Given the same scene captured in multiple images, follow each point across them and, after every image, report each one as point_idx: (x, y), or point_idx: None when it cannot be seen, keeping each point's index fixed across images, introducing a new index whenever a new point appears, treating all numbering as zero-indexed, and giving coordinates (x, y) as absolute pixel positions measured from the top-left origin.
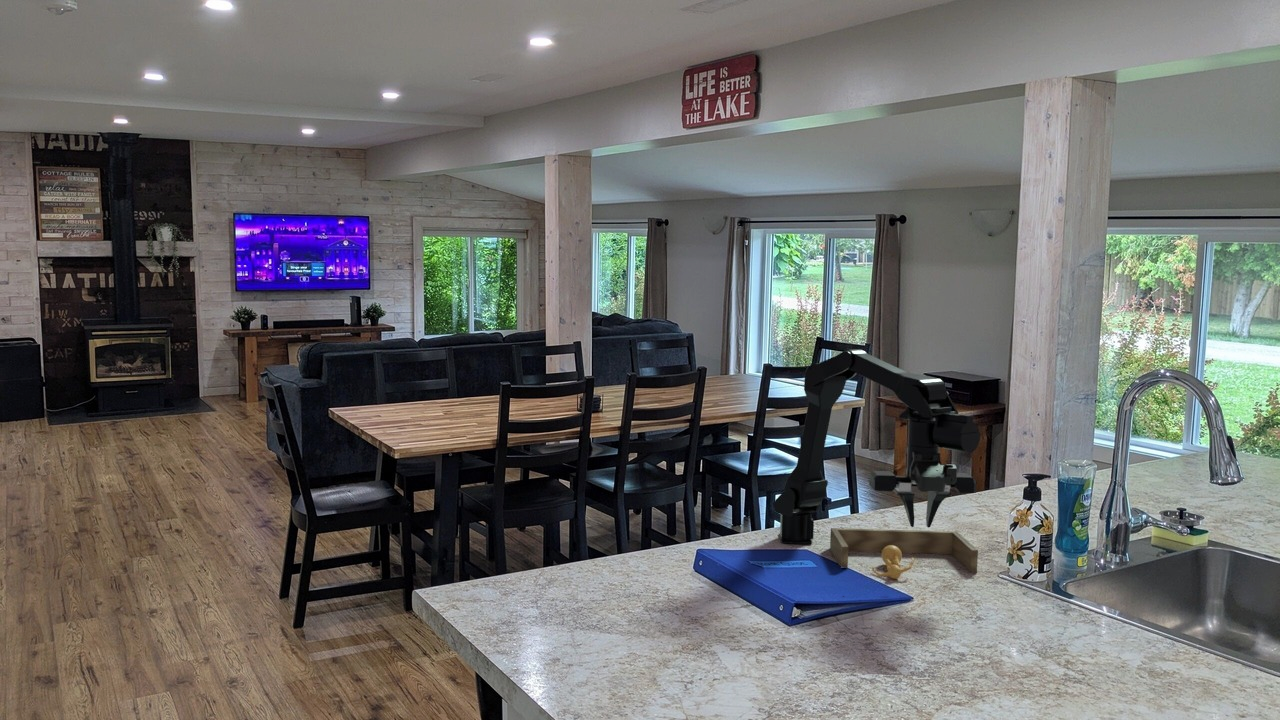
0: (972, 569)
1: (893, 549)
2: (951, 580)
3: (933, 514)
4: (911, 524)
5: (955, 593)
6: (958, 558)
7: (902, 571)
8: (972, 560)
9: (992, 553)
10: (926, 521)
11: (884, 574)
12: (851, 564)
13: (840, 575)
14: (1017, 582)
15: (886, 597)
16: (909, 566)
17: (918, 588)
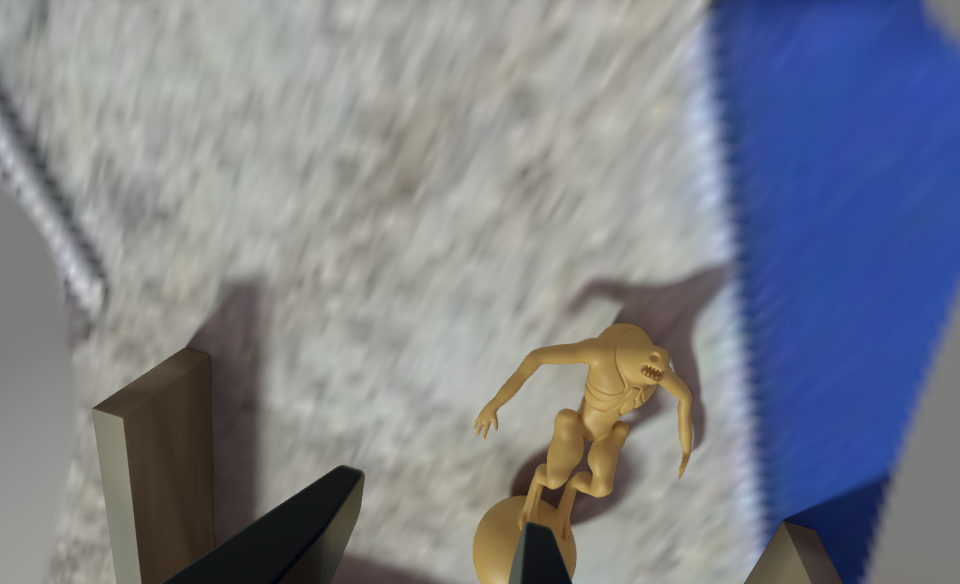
0: (192, 360)
1: None
2: (335, 271)
3: (208, 579)
4: (556, 549)
5: (400, 53)
6: (207, 503)
7: (592, 339)
8: (162, 383)
9: (70, 529)
10: (336, 564)
11: (674, 375)
12: (712, 568)
13: (896, 451)
14: (43, 191)
15: (903, 17)
16: (537, 362)
17: (573, 172)
